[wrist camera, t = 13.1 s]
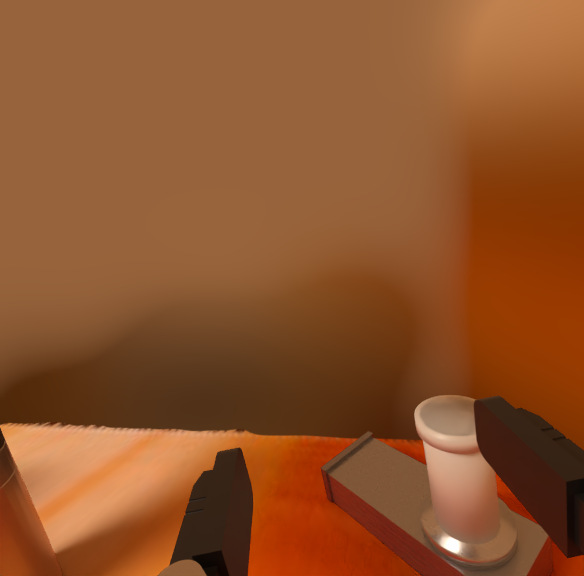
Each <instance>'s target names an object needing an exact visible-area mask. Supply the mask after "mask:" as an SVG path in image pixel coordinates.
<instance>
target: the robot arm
mask: <svg viewBox="0 0 584 576" xmlns="http://www.w3.org/2000/svg"><path fill="white" fill-rule="evenodd" d="M474 417H475V429H476V440H477V444H478V447H479V450H480V452H481V454H482V456H483V457H484V459H485V460H486V462H487V463H488V464H489V465H490V466H491V467H492V469H493V470H494V471H495V472H496V473H497V475H498V476H499V477H500V478H501V479H502V481H503V482H504V483H505V484H506V485H507V487H508V488H509V489H510V490H511V491H512V493H513V494H514V495H515V496H516V497H517V499H518V500H519V501H520V502H521V503H522V504H523V506H524V507H525V508H526V509H527V510H528V512H529V513H530V514H531V515H532V516H533V518H534V519H535V520H536V521H537V522H538V524H539V525H540V526H541V527H542V528H543V530H544V531H545V532H546V533H547V534H548V536H549V537H550V538H551V539H552V540H553V541H554V543H555V544H556V545H557V546H558V547H559V549H560V550H561V551H562V552H563V553H564V555H565V556H566V557H567V558H570V557H575V556H580V555H584V450H582V449H581V448H580V447H578V446H577V445H576V444H574V443H573V442H572V441H571V440H569V439H566V437H565V436H564V435H563V434H562V433H560V432H559V431H558V430H557V429H554V428H553V426H551V425H550V424H549V423H548V422H546V421H545V420H544V419H543V418H541V417H540V416H538V415H536V414H533V413H531V412H529V411H527V410H525V409H522V408H518V409H515V408H514V407H513V406H512V405H510V404H509V403H508V402H507V401H505V400H504V399H503V398H502V397H500V396H494V397H489V398H484V399H480V400H475V402H474ZM185 513H186V515H185V516H184V519H183V522H182V525H181V529H180V532H179V535H178V539H177V542H176V545H175V548H174V552H173V555H172V558H171V562H170V565H169V566H168V567H167V568H165V569H164V570H163V571H162V572H161V573H160V574H159V575H158V576H247V575H248V563H249V551H250V538H251V526H252V513H253V493H252V487H251V482H250V479H249V475H248V471H247V468H246V464H245V460H244V456H243V453H242V450H241V448H235V449H230V450H225V451H220V452H218V453H217V456H216V460H215V464H214V468H213V470H209V471H204V472H203V473H202V474H201V476H200V477H199V479H198V480H197V481H196V483H195V484H194V486H193V489H192V492H191V496H190V499H189V503H188V506H187V509H186V512H185ZM0 576H62V570H61V567H60V565H59V563H58V560H57V558H56V556H55V553H54V551H53V549H52V546H51V544H50V541H49V539H48V537H47V534H46V532H45V530H44V527H43V525H42V523H41V521H40V518H39V516H38V514H37V511H36V509H35V507H34V504H33V502H32V500H31V498H30V495H29V493H28V491H27V488H26V486H25V484H24V481H23V479H22V477H21V475H20V472H19V470H18V468H17V465H16V464H15V461H14V459H13V457H12V454H11V452H10V450H9V448H8V445H7V443H6V441H5V438H4V436H3V434H2V431H1V429H0Z"/></svg>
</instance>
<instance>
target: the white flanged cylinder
mask: <svg viewBox="0 0 584 576" xmlns="http://www.w3.org/2000/svg"><path fill="white" fill-rule="evenodd" d="M474 402H475V399H472V398H468V397H464V396H458V395H444V396H436V397H432V398H429V399H427V400H425V401H423V402H422V403H420V404H419V405H418V406H417V408H416V410H415V415H414V416H415V422H416V429H417V433H418V435H419V436H420V438H421V439H422V440H423V443H424V450H425V457H426V464H427V470H428V477H429V484H430V491H431V498H432V504H433V511H434V517H435V519H436V522H437V524H438V525H439V526H440V528H441V529H442V530H443V531H444V532H445V533H446V534H448V535H449V536H450V537H452V538H454V539H456V540H458V541H461V542H464V543H468V544H483V543H487V542H489V541H491V540H493V539H494V538H495V537H496V536H497V535H498V533H499V530H500V516H499V506H498V496H497V486H496V475H495V471H494V470H493V469H492V467H491V466H490V465H489V464H488V463H487V462H486V460H485V459H484V457H483V456H482V454H481V452H480V450H479V447H478V444H477V440H476V429H475V417H474Z"/></svg>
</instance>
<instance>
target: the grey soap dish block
mask: <svg viewBox="0 0 584 576" xmlns="http://www.w3.org/2000/svg"><path fill="white" fill-rule="evenodd" d="M321 471H322V476H323V480H324V485H325V489H326V494H327V498H328V500H330V501H331V502H334V503H336V504H337V505H338V506H339V507H340V508H342V509H343V510H344V511H345V512H347V513H348V514H349V515H350V516H351V517H353V518H354V519H355V520H356V521H357V522H359V523H360V524H361V525H362V526H363V527H365V528H366V529H367V530H368V531H369V532H371V533H372V534H373V535H374V536H375V537H377V538H378V539H379V540H380V541H381V542H383V543H384V544H385V545H386V546H387V547H389V548H390V549H391V550H392V551H393V552H395V553H396V554H397V555H398V556H400V557H401V558H402V559H403V560H404V561H406V562H407V563H408V564H409V565H410V566H412V567H413V568H414V569H415V570H416V571H418V572H419V573H420V574H421V575H422V576H550V575H551V573H552V571H553V556H552V540H551V538H550V537H549V536H548V534H547V533H546V532H545V531H544V530H543V528H542V527H541V526H540V525H538V524H536V523H534V522H533V521H531V520H529V519H527V518H525V517H523V516H521V515H519V514H517V513H515V512H514V511H512V510H510V509H509V508H508V506H507V505H506V504H505V503H504V502H503V501H502V500H501V499H500V498H499V497H498V506H499V516H500V530H499V533H498V535H497V536H496V537H495V538H494V539H493V540H491V541H489V542H487V543H483V544H468V543H464V542H461V541H458V540H456V539H454V538H452V537H450V536H449V535H448V534H446V533H445V532H444V531H443V530H442V529H441V528H440V526H439V525H438V524H437V522H436V519H435V517H434V511H433V504H432V498H431V491H430V484H429V477H428V470H427V466H426V465H424V464H423V463H421V462H419V461H417V460H415V459H413V458H411V457H409V456H407V455H406V454H404V453H402V452H400V451H398V450H396V449H394V448H392V447H390V446H388V445H387V444H385V443H383V442H381V441H379V440H377V439H375V438H374V437H373V433H371V432H369V431H368V432H367V433H365V434H364V435H363V436H361V437H360V438H359V439H358V440H356V441H355V442H354V443H352V444H351V445H350V446H348V447H347V448H346V449H345V450H343V451H342V452H341V453H339V454H338V455H337V456H335V457H334V458H333V459H332V460H330V461H329V462H328V463H326V464H325V465H324V466H323V467H321Z"/></svg>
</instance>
